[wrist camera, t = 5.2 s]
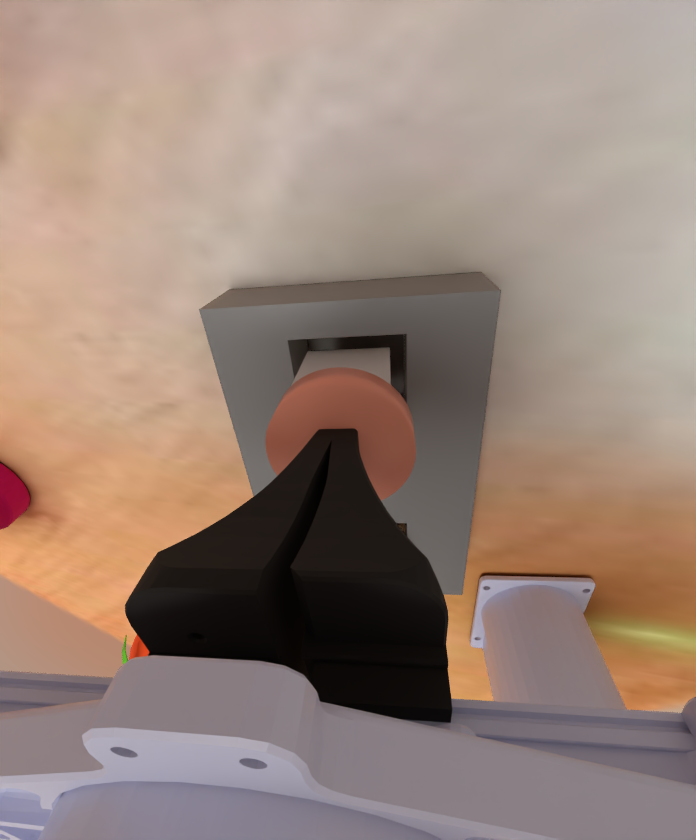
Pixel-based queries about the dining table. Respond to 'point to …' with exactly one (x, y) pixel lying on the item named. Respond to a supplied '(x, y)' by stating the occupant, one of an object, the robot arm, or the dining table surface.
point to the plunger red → (347, 413)
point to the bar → (423, 383)
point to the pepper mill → (11, 497)
